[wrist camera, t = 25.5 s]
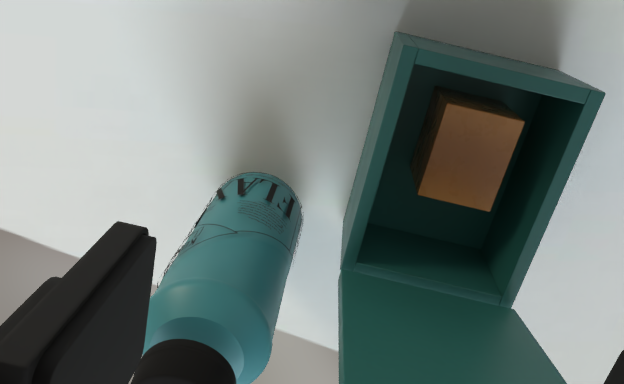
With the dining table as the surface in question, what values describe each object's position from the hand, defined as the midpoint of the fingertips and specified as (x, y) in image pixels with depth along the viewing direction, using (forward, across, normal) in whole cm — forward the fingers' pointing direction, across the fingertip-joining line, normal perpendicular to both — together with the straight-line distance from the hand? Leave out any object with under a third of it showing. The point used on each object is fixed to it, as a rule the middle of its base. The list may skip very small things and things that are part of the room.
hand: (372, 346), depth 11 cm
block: (+26, -6, +2) cm, 26 cm away
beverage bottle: (+26, +5, +10) cm, 29 cm away
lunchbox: (+26, -6, +3) cm, 27 cm away
